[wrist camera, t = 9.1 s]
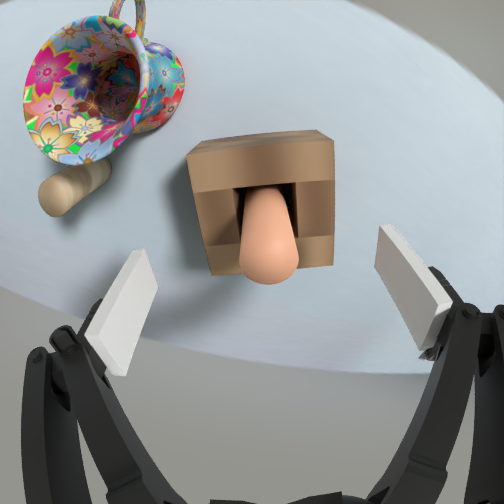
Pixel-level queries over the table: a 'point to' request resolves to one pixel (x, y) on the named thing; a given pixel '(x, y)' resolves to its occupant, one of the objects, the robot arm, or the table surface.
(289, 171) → the block
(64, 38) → the mug
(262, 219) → the long pin
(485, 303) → the table surface
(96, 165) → the medium pin
